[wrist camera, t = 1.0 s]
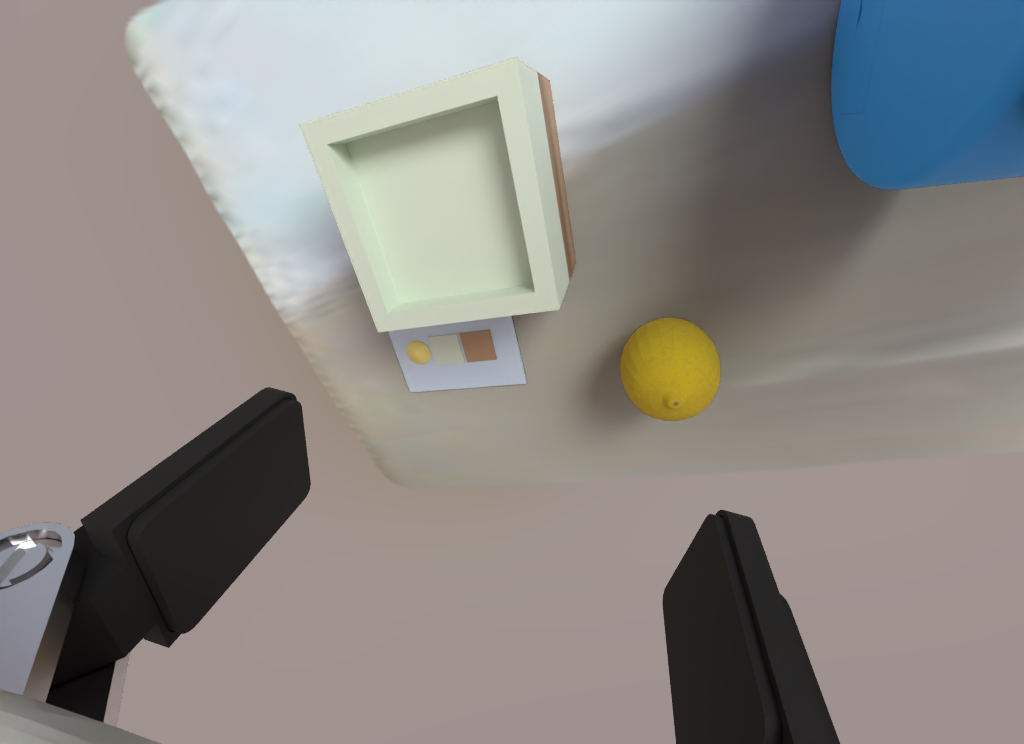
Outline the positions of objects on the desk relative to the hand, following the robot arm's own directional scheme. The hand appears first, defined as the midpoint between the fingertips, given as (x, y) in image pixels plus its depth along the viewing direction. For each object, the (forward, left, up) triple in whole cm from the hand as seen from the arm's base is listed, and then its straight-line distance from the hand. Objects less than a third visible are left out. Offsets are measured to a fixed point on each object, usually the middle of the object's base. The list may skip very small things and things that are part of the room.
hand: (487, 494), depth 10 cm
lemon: (-5, +6, -21) cm, 23 cm away
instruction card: (+10, +5, -21) cm, 24 cm away
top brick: (+5, -5, -17) cm, 18 cm away
